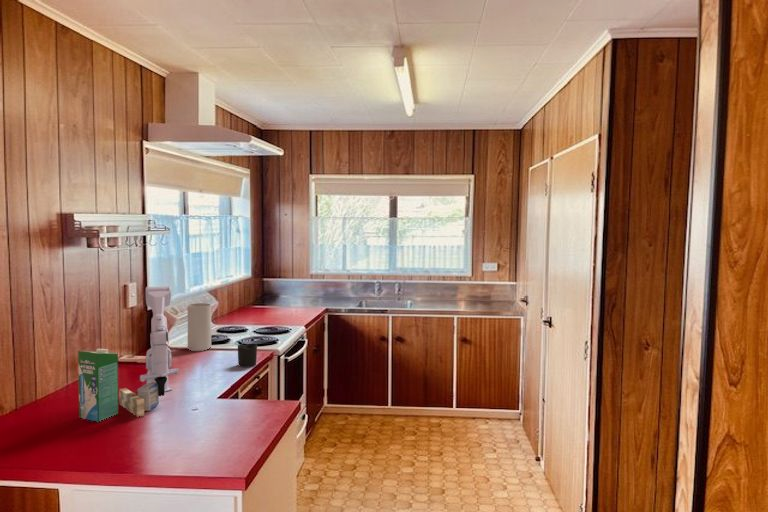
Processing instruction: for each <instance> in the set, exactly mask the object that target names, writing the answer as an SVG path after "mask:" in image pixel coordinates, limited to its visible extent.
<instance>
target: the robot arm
mask: <svg viewBox="0 0 768 512" xmlns="http://www.w3.org/2000/svg"><path fill="white" fill-rule="evenodd" d="M171 299H172V287H171V286H170V285H167V286H166V285H165V286H145V304H146V307H148V308H151V311H152V317H151V322H150V323H151V325H150V326H151V328H150V329H151V330H150V331H151V333H150V334H149V335H150V348H149V349H148V350H147V351H146V355H145V360H146V361H145V369H146V370H147V373H146V374H141V375H139V381H140V382H142V383H144V382H146V384H147V383H158V396H159V397H161V396H162V397H163V396H165V394H166V393H165V392H168V391H173V388H172V387H169V376H174V375H180V368H178V367H177V368H171V367H172V351H171V349H170V348H169V346H168V345H169V344H170V337H169V336H170V335H169V333H170V332H169V330H168V320H167V319H168V318H167V317H166V316H165V315H164V314H165V312H164V311H165V309H166V307H168V306H170V305H171V301H172V300H171ZM170 368H171V369H170Z"/></svg>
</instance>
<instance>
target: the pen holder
mask: <svg viewBox="0 0 768 512" xmlns="http://www.w3.org/2000/svg"><path fill="white" fill-rule="evenodd" d="M257 355H258V345H257V344H256V343H249V344H238V345H237V358H238V359H237V360H238V361H237V364H239V365H240V366H252V367H254V366H253V365H255V366H256V365H257V359H258V357H257ZM239 365H238V366H239ZM240 366H239V367H240Z"/></svg>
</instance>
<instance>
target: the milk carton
mask: <svg viewBox="0 0 768 512" xmlns="http://www.w3.org/2000/svg"><path fill="white" fill-rule="evenodd" d="M77 353H78V355H77V357H78V358H77V361H78V362H77V363H78V369H77V370H78V418H83V419H88V420H92V421H91V422H93V421H96V422H95V423H99V421H100V422H102V421H101V420H103V421H105V420H107V419H110V418H112V417H115V416H117V415H119V358H118V357H119V354H118V353H116V352H115V353H114V352H109V349H107V348H96V350H94V351H93V350H78V351H77ZM116 414H117V415H116ZM114 415H115V416H114ZM111 416H112V417H111ZM109 417H110V418H109ZM106 418H107V419H106ZM83 419H82V420H83ZM104 419H105V420H104ZM88 420H87V421H88Z"/></svg>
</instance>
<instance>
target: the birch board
mask: <svg viewBox="0 0 768 512" xmlns="http://www.w3.org/2000/svg"><path fill="white" fill-rule="evenodd" d="M118 403H119V405H120V406H121V407H122V406H123V407H122V408H124V409H125V408H126V409H125V410H127V411H128V412H130V413H131V414H132V413H133V415H134V416H135V415H136V416H135V417H137V418H139V416H140V417H144V416H145V411H144V399H142V398H141V397H139V396H138V393H137V392H133V391H131V390H129V389H128V388H127V387H124V388H118Z"/></svg>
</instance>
